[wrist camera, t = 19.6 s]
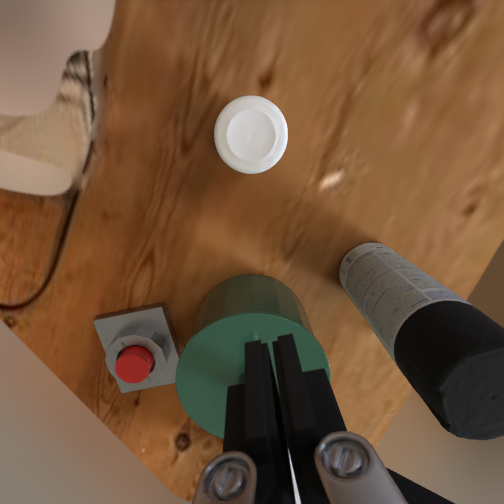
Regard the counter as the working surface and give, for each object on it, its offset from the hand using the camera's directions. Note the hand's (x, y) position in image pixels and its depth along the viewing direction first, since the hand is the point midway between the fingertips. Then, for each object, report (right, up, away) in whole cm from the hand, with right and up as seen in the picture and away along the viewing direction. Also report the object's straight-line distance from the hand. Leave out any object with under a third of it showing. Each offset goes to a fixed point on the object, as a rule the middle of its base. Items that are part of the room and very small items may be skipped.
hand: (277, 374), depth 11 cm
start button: (-14, -8, +26) cm, 30 cm away
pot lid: (-1, -7, +19) cm, 20 cm away
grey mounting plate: (-14, -7, +28) cm, 32 cm away
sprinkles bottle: (-1, +15, +22) cm, 27 cm away
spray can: (+12, +2, +26) cm, 29 cm away
